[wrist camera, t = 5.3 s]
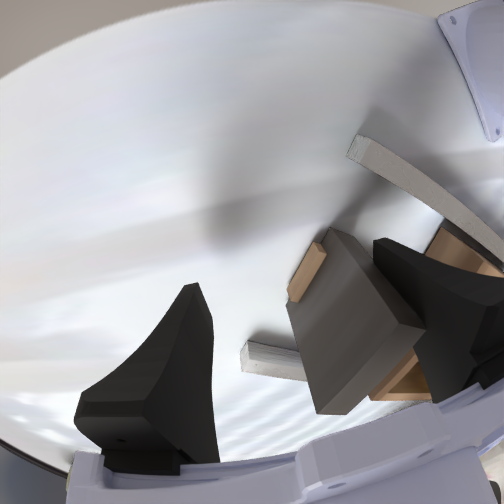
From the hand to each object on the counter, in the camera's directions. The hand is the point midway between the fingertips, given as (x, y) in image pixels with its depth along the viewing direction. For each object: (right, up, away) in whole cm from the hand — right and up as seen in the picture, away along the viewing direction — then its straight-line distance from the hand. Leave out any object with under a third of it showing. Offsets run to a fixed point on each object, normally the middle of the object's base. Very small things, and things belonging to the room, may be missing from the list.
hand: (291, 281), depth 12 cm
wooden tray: (+9, -2, +5) cm, 11 cm away
